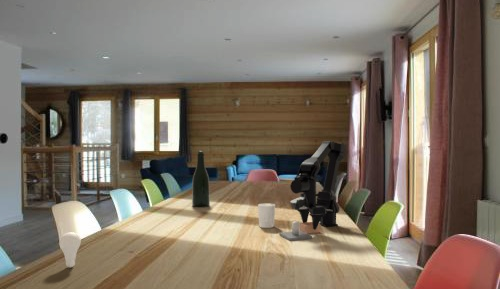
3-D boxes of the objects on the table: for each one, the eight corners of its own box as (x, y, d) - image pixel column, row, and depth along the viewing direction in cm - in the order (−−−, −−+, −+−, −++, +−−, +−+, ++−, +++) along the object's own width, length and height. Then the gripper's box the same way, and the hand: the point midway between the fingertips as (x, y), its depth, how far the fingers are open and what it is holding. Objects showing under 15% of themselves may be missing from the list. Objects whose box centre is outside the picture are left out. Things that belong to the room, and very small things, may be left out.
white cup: (273, 228, 177) (273, 206, 177) (256, 228, 179) (256, 205, 179) (276, 225, 185) (276, 203, 185) (259, 224, 186) (259, 203, 186)
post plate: (301, 233, 169) (301, 219, 169) (312, 238, 159) (312, 223, 159) (279, 235, 165) (279, 220, 165) (289, 240, 156) (289, 225, 156)
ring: (312, 229, 176) (312, 221, 176) (319, 232, 170) (319, 224, 170) (299, 230, 174) (299, 222, 174) (306, 233, 168) (306, 225, 168)
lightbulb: (64, 264, 127) (63, 230, 127) (83, 264, 128) (83, 229, 128) (56, 270, 121) (56, 234, 121) (77, 270, 122) (76, 234, 122)
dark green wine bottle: (213, 205, 241) (212, 150, 241) (202, 207, 233) (201, 151, 232) (199, 203, 247) (199, 150, 247) (188, 206, 238) (188, 151, 238)
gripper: (283, 189, 178) (283, 224, 178) (302, 194, 161) (302, 233, 161) (305, 188, 182) (306, 222, 182) (326, 193, 164) (326, 231, 164)
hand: (309, 227), depth 172 cm, fingers open, 9 cm apart
